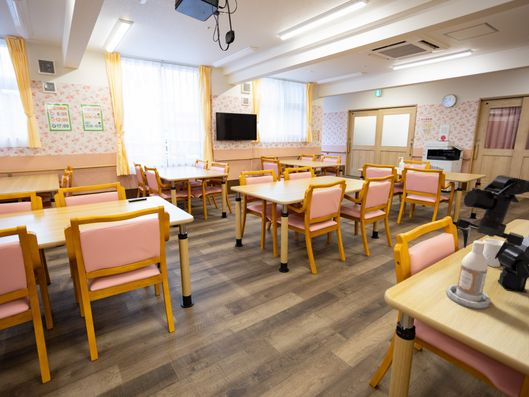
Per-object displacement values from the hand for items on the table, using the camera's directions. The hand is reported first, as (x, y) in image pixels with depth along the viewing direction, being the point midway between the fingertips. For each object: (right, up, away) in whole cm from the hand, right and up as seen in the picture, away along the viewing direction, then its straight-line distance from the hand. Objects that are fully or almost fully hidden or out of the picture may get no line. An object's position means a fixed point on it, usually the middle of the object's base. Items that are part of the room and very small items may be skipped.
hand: (479, 253), depth 102 cm
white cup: (+20, -9, +21) cm, 31 cm away
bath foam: (-8, -14, -5) cm, 17 cm away
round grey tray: (-8, -15, -5) cm, 17 cm away
